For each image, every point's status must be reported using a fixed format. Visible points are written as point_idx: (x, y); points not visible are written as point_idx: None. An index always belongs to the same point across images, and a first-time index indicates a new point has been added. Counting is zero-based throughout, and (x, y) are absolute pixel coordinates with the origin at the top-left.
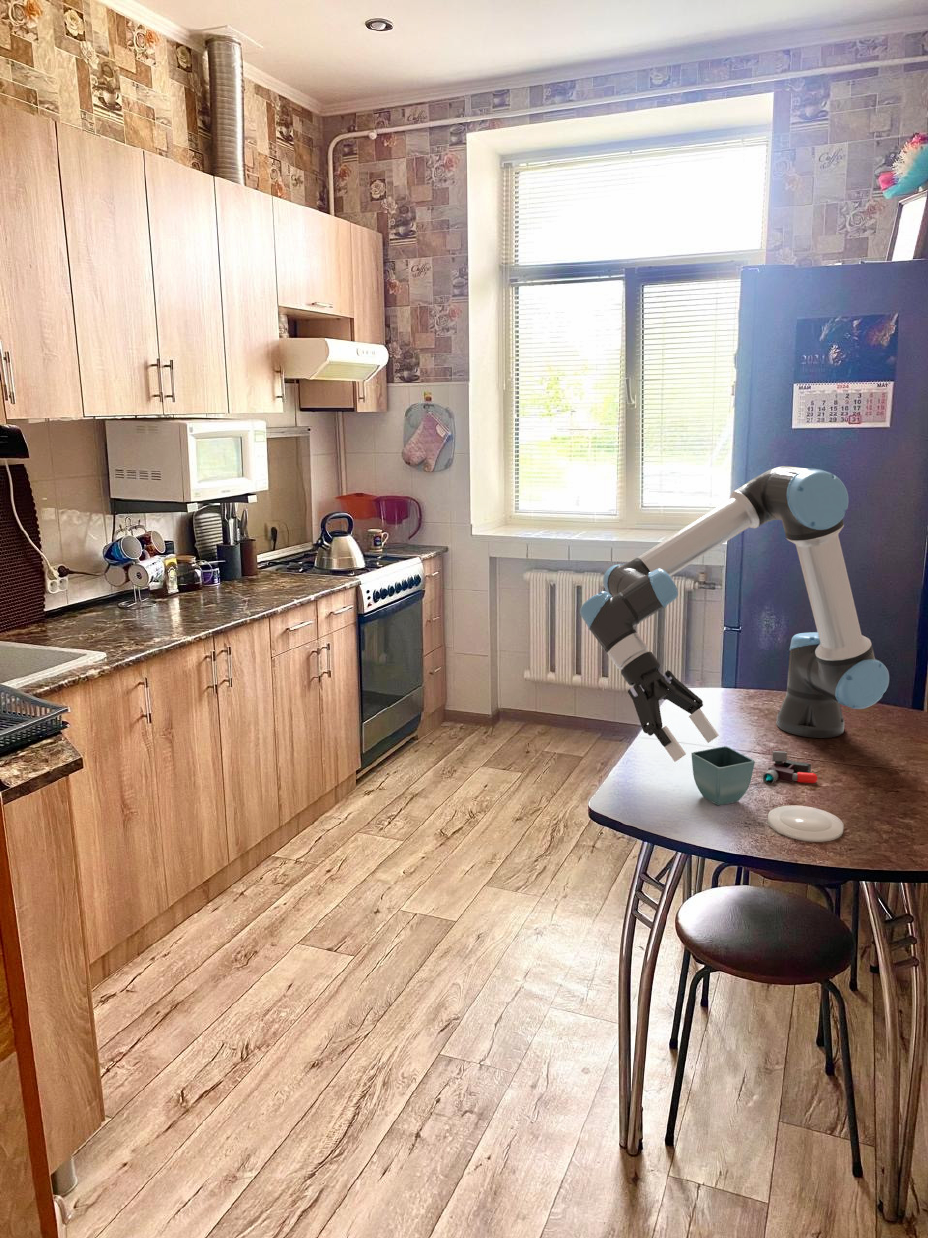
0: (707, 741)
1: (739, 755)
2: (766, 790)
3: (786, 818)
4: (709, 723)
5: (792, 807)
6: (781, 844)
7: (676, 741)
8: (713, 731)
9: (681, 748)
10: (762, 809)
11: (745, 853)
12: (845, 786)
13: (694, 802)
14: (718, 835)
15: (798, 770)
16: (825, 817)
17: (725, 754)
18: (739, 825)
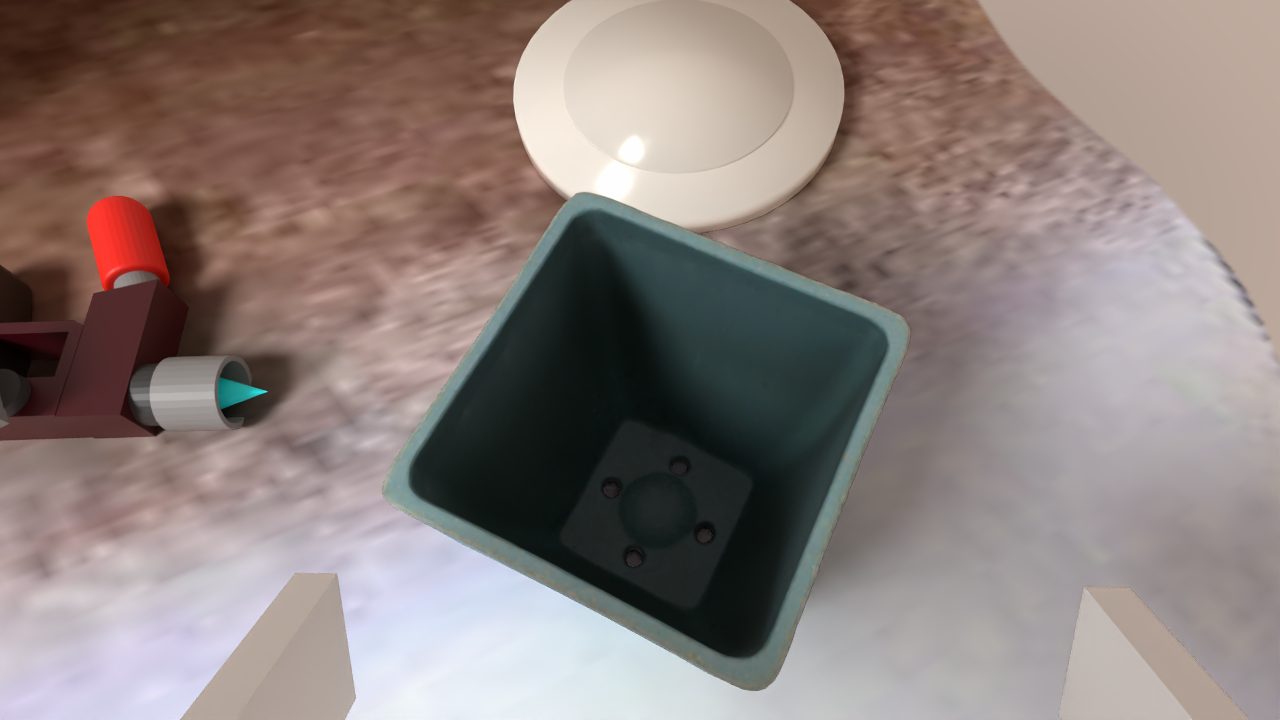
0: (349, 703)
1: (504, 334)
2: (369, 366)
3: (725, 135)
4: (223, 691)
5: (572, 163)
6: (927, 104)
7: (1209, 716)
8: (309, 618)
9: (1145, 637)
10: None
11: (1135, 170)
12: (120, 119)
13: (813, 619)
14: (1085, 323)
15: (18, 317)
16: (595, 35)
17: (433, 499)
18: (897, 296)
